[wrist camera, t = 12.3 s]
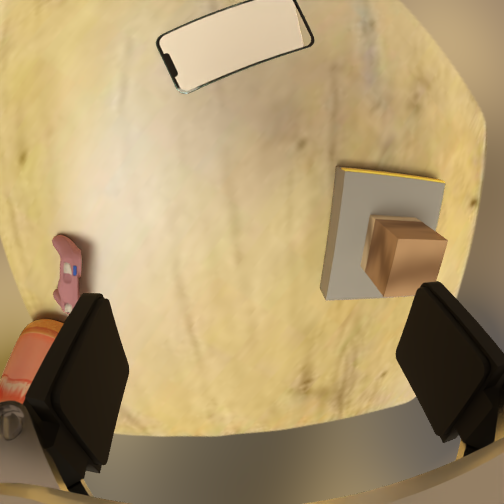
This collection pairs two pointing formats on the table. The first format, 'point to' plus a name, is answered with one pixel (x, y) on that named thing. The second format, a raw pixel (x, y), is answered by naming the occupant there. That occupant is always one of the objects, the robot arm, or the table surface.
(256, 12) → the smartphone
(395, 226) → the brown wooden block
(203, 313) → the table surface
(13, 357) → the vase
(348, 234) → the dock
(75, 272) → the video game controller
